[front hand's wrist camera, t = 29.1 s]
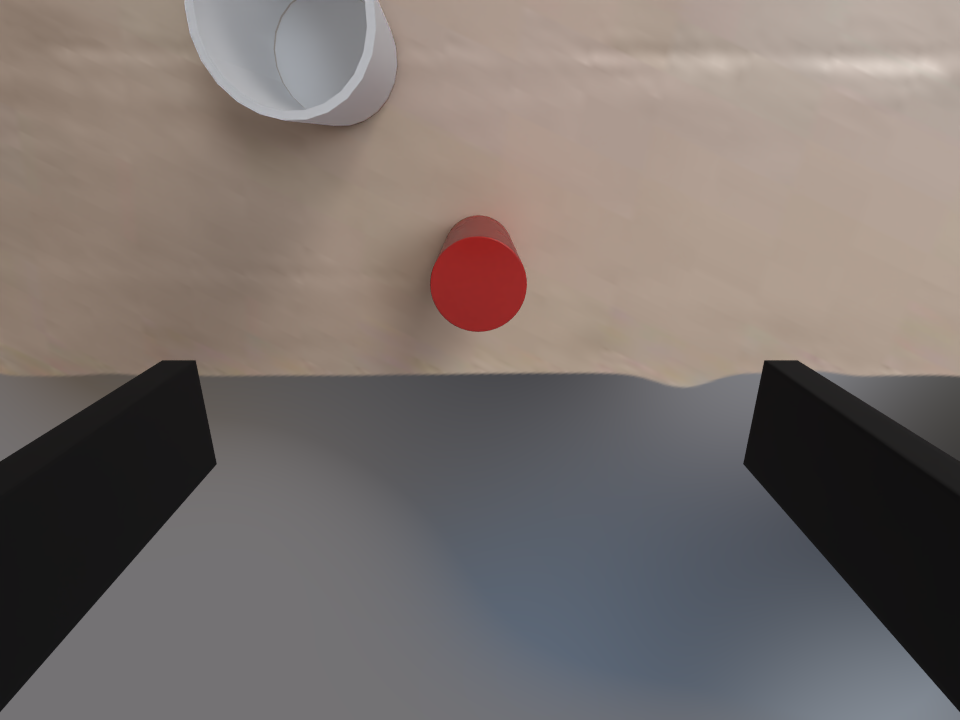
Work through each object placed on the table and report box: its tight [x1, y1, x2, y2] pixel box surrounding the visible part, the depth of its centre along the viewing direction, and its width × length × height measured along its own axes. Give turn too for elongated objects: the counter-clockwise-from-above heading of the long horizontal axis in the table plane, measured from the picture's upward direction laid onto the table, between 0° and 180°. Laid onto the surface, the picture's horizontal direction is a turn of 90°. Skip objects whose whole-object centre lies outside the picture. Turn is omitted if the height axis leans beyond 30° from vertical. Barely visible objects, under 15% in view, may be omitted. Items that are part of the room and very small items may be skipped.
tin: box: [430, 216, 527, 332], centre depth 33 cm, size 5×5×12 cm
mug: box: [185, 0, 398, 126], centre depth 29 cm, size 11×9×10 cm
